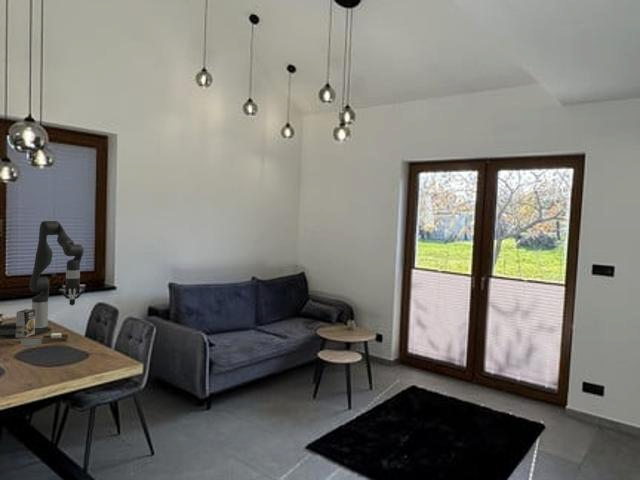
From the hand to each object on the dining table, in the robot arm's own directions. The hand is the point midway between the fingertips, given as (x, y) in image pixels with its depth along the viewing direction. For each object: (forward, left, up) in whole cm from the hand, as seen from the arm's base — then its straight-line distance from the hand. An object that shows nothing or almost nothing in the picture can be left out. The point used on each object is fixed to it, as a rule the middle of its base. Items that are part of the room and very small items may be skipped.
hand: (72, 305), depth 277 cm
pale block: (0, -8, -21) cm, 23 cm away
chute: (0, -8, -22) cm, 24 cm away
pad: (0, -20, -22) cm, 30 cm away
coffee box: (-17, -26, -22) cm, 38 cm away
